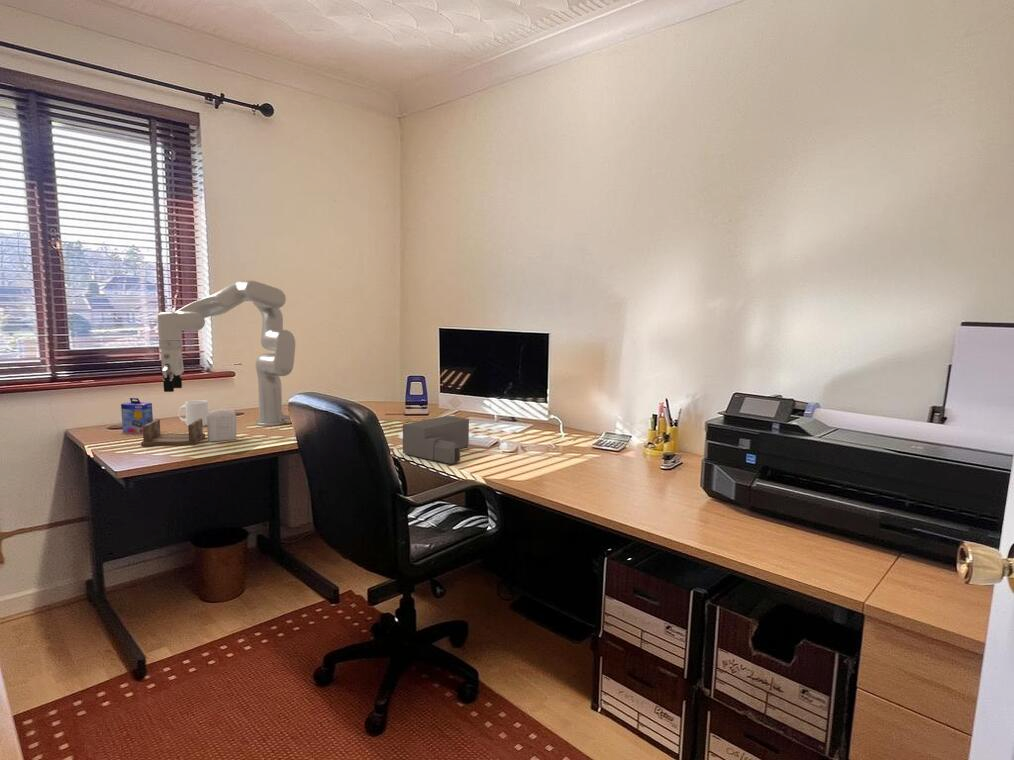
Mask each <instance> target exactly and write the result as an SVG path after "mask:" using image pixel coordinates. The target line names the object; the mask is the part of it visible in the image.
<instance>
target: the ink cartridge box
mask: <svg viewBox="0 0 1014 760" xmlns="http://www.w3.org/2000/svg"><path fill="white" fill-rule="evenodd" d="M120 407H121V408H120V409H121V410H120V411H121V423H122V425H121V427H122V428H121V429H122V433H124V434H143V426H144V425H146V424H148V423H150V422H152V421H154V418H153V417H154V416H153V403H152V402H141V401H140V399H139V398H137V397H136V398H135V397H129V402H123V403H121V404H120Z"/></svg>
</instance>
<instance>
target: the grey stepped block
mask: <svg viewBox="0 0 1014 760" xmlns="http://www.w3.org/2000/svg"><path fill="white" fill-rule="evenodd" d="M469 435H470V418H464V417H459V416H451V415H446V416H439V417H434V418H430V419H424V420H419V421H415V422H414V421H413V422H409V423H403V424H402V454H404V455H409V456H413V457H417V458H422V459H427V460H431V461H437V462H441V463H445V464H450V465H451V464H455V463H458V462H461V449H464V448H467V447H469V444H470V442H469V439H470V437H469Z"/></svg>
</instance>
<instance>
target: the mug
mask: <svg viewBox="0 0 1014 760" xmlns="http://www.w3.org/2000/svg"><path fill="white" fill-rule="evenodd" d="M184 403H185V404H183V405H181V407H179V409H178V412H177V413H178V418H179V420H180V421H181V422H183V423H185V425H186V427H188V425H190V424H191V423H193V422H194V421H196V420H198V419H202V427H204V426H205V425H206V426H207V416H208V412H209V401H208V400H205V399H204V400H203V399H202V400H201V399H200V400H199V399H196V400H186V401H185V402H184ZM184 409H185V418H183V417H181V414H180V413H181V411H182V410H184ZM206 426H205V427H206Z"/></svg>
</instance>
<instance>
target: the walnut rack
mask: <svg viewBox="0 0 1014 760" xmlns="http://www.w3.org/2000/svg"><path fill="white" fill-rule="evenodd" d="M187 427H188V433H161V420H160V419H157V418H155V419H153V421H152V422H150V423H148V424H146V425H144V426H143V435H142V439H143V440H142V441H141V442H140V446H141V447H163V446H167V447H168V446H195V445H197V444H198V443H199V442H200V441H202V440H203V439H204V438H205V437H206V433H205V432H204V431H203V430H204V429H203V428H204V426H202V419H198V420H196V421H194V422H193V423H191V424H190V425H188V426H187Z"/></svg>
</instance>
